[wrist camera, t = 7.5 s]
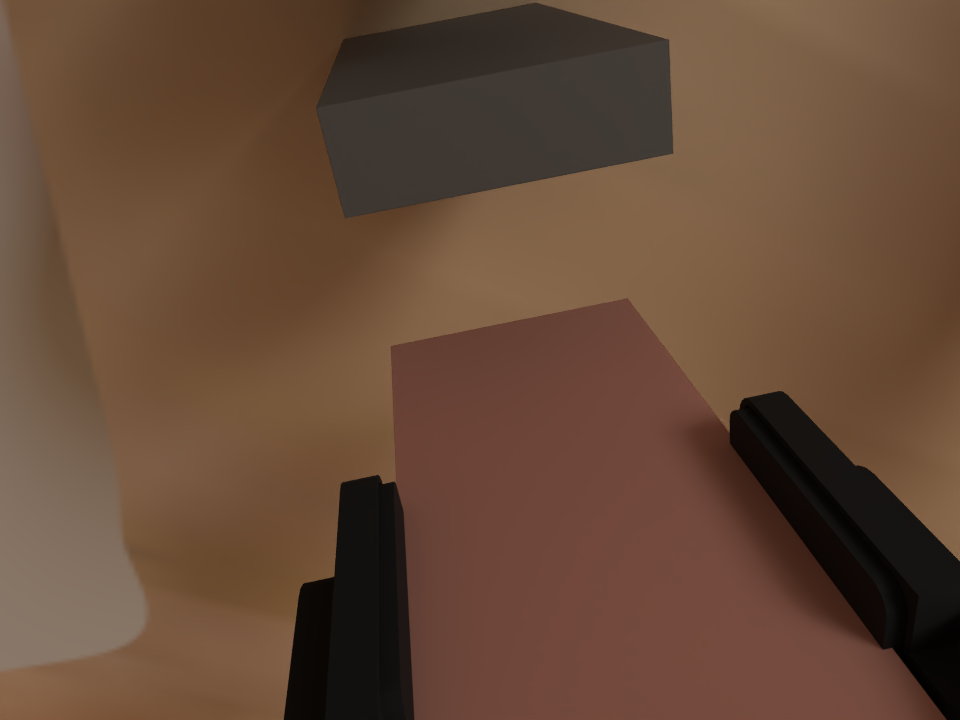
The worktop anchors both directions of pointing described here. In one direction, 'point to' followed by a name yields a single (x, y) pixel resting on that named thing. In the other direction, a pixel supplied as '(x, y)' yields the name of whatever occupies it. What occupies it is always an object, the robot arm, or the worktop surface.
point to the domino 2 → (607, 543)
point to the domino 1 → (490, 105)
